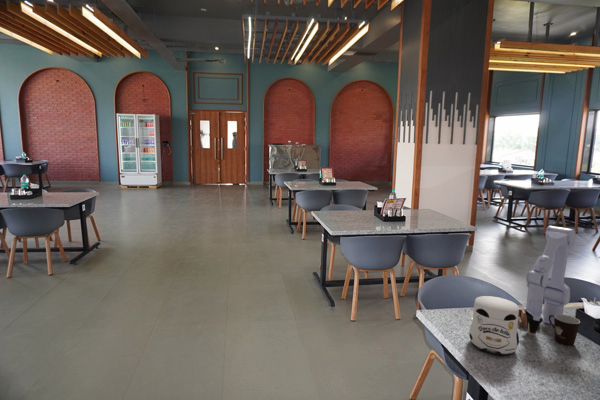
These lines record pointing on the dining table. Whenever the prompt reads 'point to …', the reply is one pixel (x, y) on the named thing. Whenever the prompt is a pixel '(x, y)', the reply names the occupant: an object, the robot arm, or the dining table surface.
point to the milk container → (495, 325)
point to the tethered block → (525, 321)
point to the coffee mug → (565, 329)
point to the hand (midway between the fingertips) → (531, 330)
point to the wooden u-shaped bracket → (521, 320)
